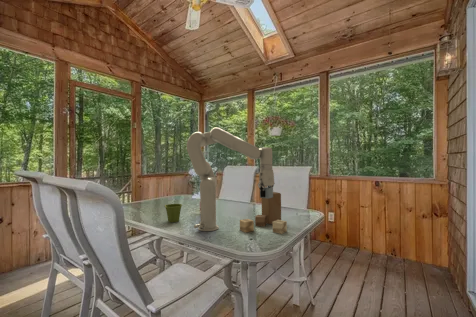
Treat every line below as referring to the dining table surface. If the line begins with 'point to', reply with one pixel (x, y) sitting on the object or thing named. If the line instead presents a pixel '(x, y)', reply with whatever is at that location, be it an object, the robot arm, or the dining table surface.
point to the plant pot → (173, 212)
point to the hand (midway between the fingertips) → (266, 196)
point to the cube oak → (246, 225)
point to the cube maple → (279, 226)
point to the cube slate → (268, 192)
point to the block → (272, 207)
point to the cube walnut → (261, 220)
